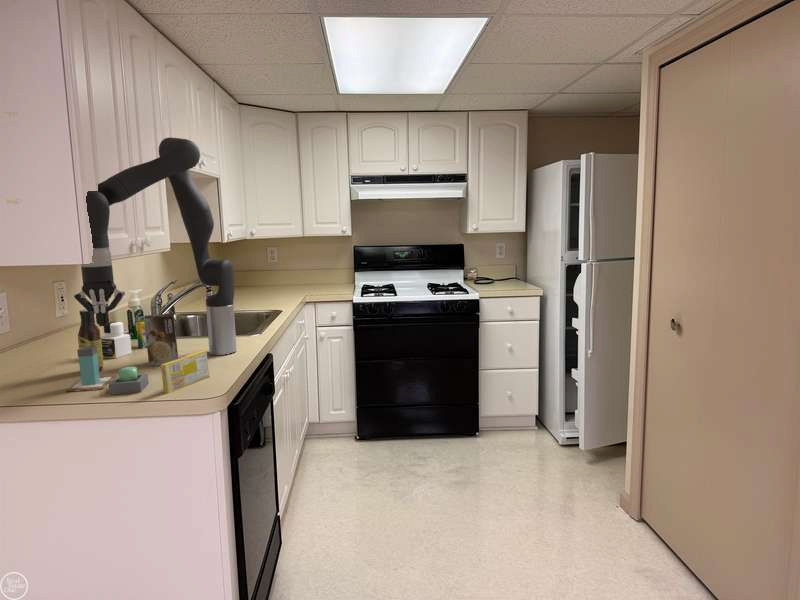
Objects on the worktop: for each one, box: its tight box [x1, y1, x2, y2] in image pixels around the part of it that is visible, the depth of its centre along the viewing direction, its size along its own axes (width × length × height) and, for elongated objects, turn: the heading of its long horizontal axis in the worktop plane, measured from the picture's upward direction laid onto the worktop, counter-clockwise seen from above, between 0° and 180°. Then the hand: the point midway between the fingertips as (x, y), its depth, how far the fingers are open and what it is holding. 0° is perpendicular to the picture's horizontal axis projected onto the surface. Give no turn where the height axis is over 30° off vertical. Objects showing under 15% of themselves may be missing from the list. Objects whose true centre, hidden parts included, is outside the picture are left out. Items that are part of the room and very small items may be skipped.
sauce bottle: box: [77, 308, 104, 372], centre depth 165 cm, size 6×6×20 cm
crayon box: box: [135, 315, 147, 349], centre depth 199 cm, size 7×3×12 cm, turn 150°
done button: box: [118, 366, 139, 382], centre depth 147 cm, size 5×5×4 cm
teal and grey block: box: [77, 346, 101, 385], centre depth 151 cm, size 4×4×10 cm
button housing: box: [108, 373, 150, 395], centre depth 148 cm, size 8×8×3 cm
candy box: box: [160, 350, 210, 394], centre depth 151 cm, size 16×2×8 cm, turn 159°
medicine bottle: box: [101, 321, 133, 359], centre depth 185 cm, size 7×7×12 cm
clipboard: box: [65, 375, 117, 392], centre depth 152 cm, size 11×10×1 cm
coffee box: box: [143, 313, 179, 367], centre depth 174 cm, size 9×6×16 cm
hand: (103, 325), depth 148 cm, fingers closed
